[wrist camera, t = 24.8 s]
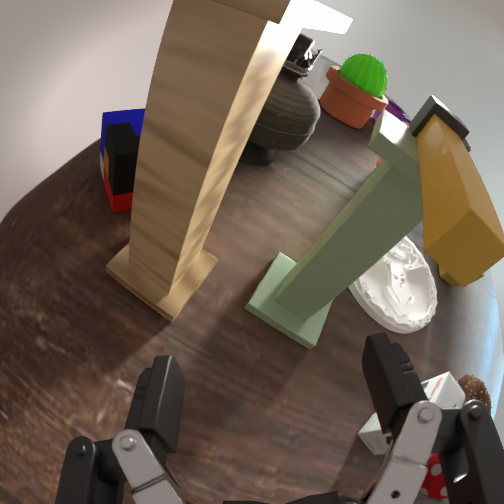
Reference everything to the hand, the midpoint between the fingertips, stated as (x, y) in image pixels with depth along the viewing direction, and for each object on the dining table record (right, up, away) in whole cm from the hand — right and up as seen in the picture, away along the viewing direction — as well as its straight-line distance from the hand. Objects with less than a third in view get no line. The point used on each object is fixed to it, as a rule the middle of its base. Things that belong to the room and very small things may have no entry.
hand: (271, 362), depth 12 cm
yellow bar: (+12, +10, +6) cm, 17 cm away
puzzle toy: (-18, +15, +30) cm, 38 cm away
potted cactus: (+29, +51, +80) cm, 99 cm away
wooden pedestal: (-12, +2, +24) cm, 27 cm away
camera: (+14, +78, +92) cm, 121 cm away
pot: (-1, +25, +46) cm, 52 cm away
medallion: (+25, +2, +41) cm, 48 cm away
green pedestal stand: (+5, -2, +28) cm, 29 cm away
